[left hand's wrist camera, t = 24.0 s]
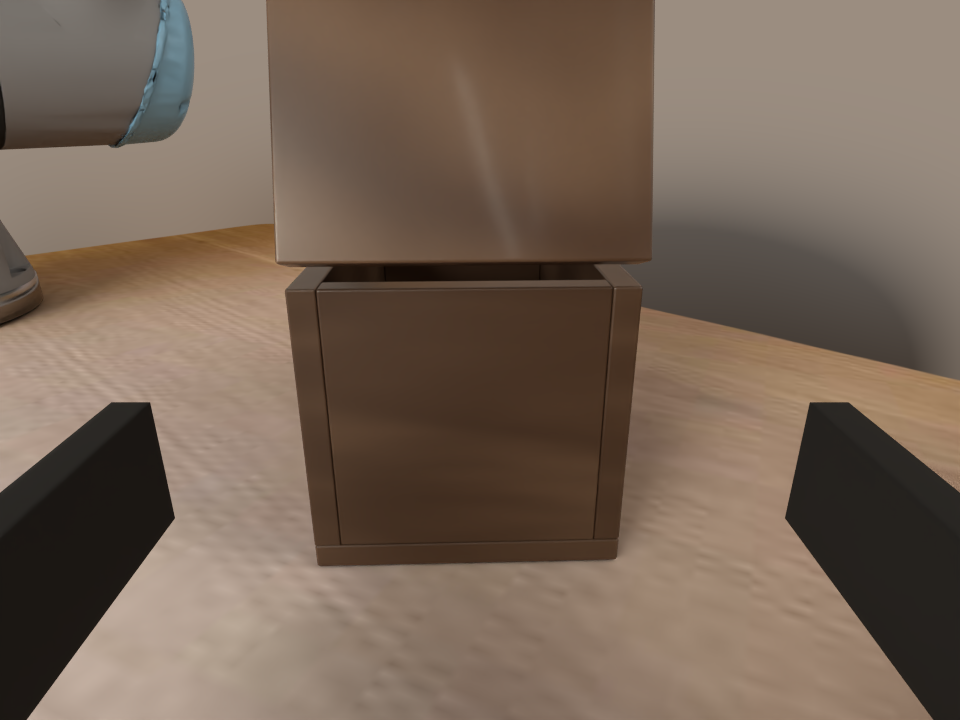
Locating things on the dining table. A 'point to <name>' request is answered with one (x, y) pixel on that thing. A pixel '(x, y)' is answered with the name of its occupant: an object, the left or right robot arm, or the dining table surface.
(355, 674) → the dining table surface
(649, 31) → the lid
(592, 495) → the chest
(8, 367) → the dining table surface
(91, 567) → the left robot arm
